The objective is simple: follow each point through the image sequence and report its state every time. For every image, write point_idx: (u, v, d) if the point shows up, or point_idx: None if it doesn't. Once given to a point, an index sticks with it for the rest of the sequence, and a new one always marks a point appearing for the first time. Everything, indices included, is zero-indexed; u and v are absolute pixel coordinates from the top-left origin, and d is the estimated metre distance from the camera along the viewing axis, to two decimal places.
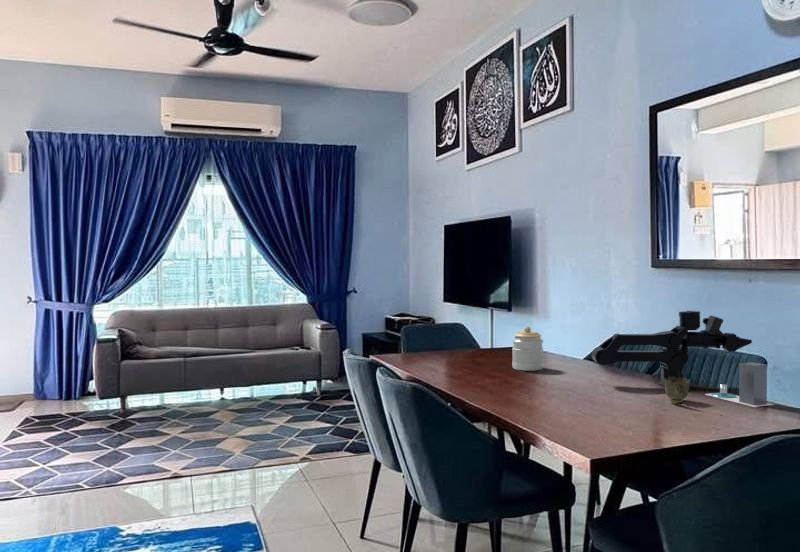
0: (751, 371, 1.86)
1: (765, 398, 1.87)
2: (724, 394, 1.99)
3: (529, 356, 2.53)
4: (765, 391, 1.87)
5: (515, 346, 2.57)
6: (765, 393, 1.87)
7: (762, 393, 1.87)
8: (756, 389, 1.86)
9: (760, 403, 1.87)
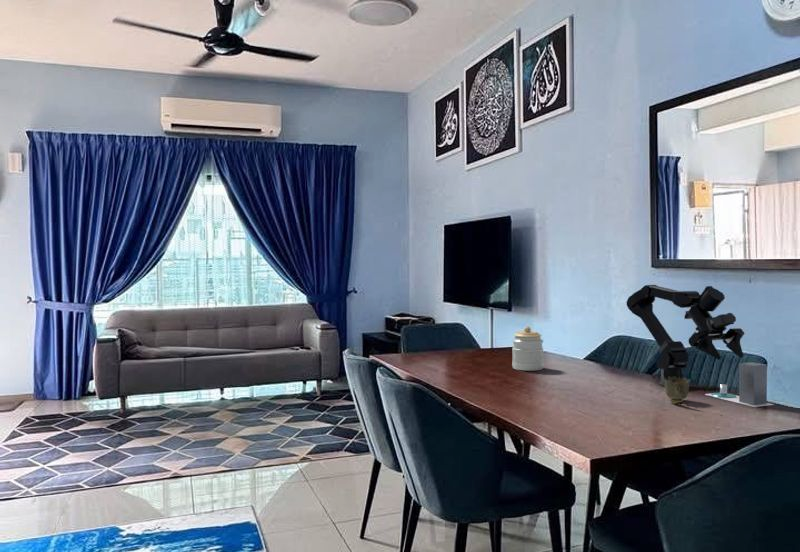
0: (751, 371, 1.86)
1: (765, 398, 1.87)
2: (724, 394, 1.99)
3: (529, 356, 2.53)
4: (765, 391, 1.87)
5: (515, 346, 2.57)
6: (765, 393, 1.87)
7: (762, 393, 1.87)
8: (756, 389, 1.86)
9: (760, 403, 1.87)
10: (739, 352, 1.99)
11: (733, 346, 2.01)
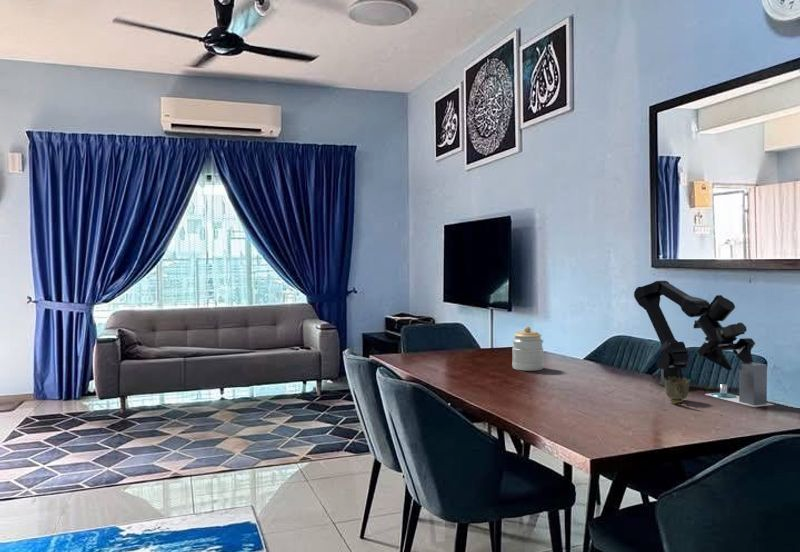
0: (751, 371, 1.86)
1: (765, 398, 1.87)
2: (724, 394, 1.99)
3: (529, 356, 2.53)
4: (765, 391, 1.87)
5: (515, 346, 2.57)
6: (765, 393, 1.87)
7: (762, 393, 1.87)
8: (756, 389, 1.86)
9: (760, 403, 1.87)
10: None
11: (744, 356, 1.98)
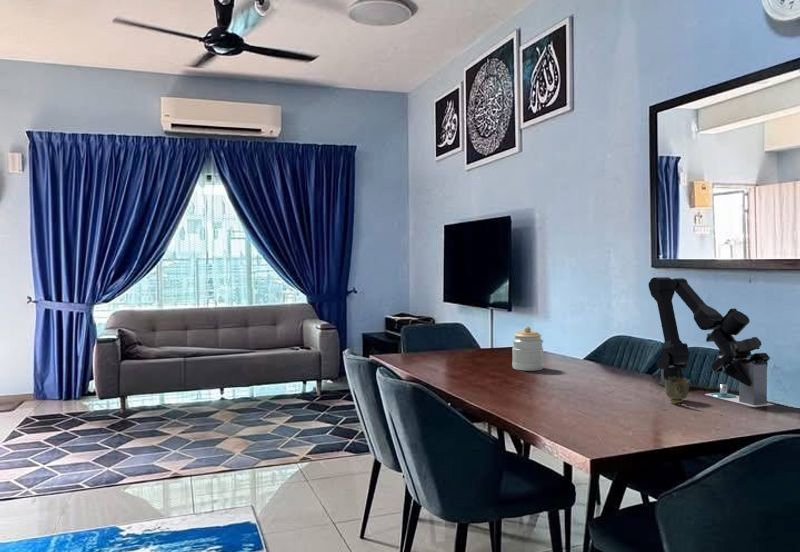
0: (751, 371, 1.86)
1: (765, 398, 1.87)
2: (724, 394, 1.99)
3: (529, 356, 2.53)
4: (765, 391, 1.87)
5: (515, 346, 2.57)
6: (765, 393, 1.87)
7: (762, 393, 1.87)
8: (756, 388, 1.86)
9: (760, 403, 1.87)
10: None
11: None
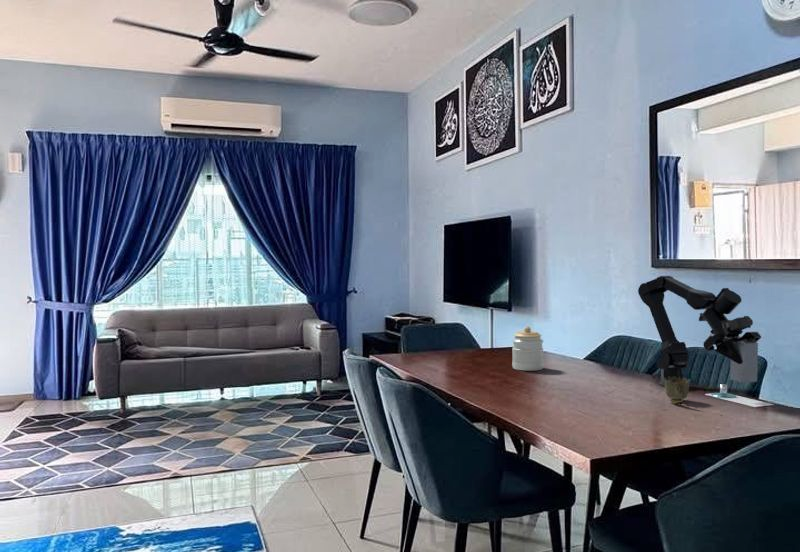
0: (742, 349, 1.89)
1: (756, 376, 1.90)
2: (724, 394, 1.99)
3: (529, 356, 2.53)
4: (755, 368, 1.90)
5: (515, 346, 2.57)
6: (756, 371, 1.90)
7: (753, 371, 1.90)
8: (747, 366, 1.89)
9: (750, 380, 1.90)
10: None
11: None
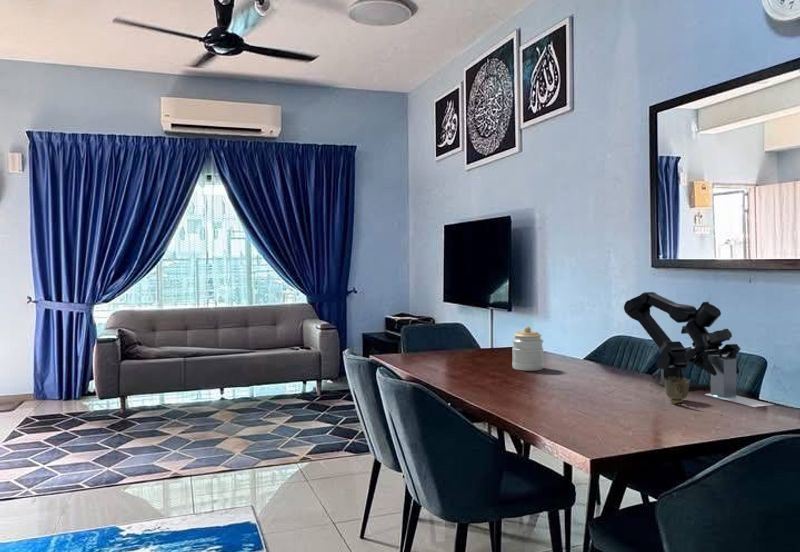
0: (721, 365, 1.97)
1: (735, 391, 1.98)
2: None
3: (529, 356, 2.53)
4: (734, 383, 1.98)
5: (515, 346, 2.57)
6: (735, 386, 1.98)
7: (732, 386, 1.97)
8: (726, 381, 1.97)
9: (730, 395, 1.97)
10: None
11: None
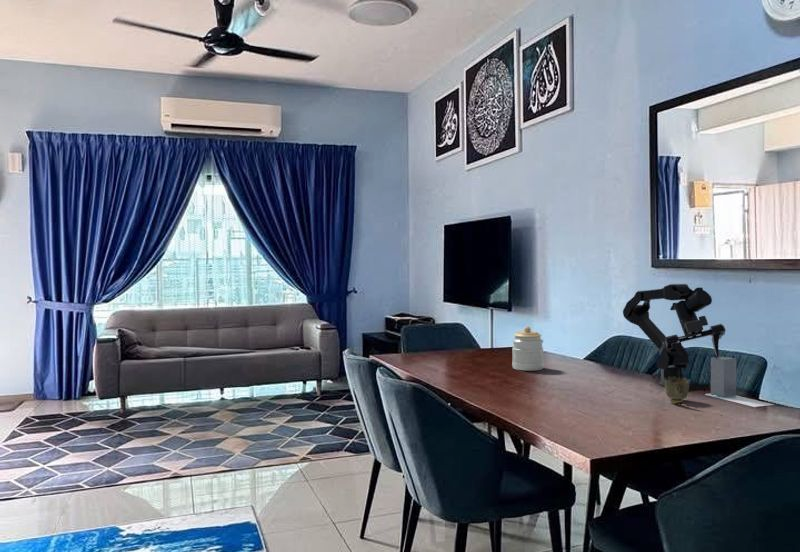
0: (721, 365, 1.97)
1: (735, 391, 1.98)
2: None
3: (529, 356, 2.53)
4: (734, 383, 1.98)
5: (515, 346, 2.57)
6: (735, 386, 1.98)
7: (732, 386, 1.97)
8: (726, 381, 1.97)
9: (730, 395, 1.97)
10: (716, 351, 2.06)
11: (713, 343, 2.08)
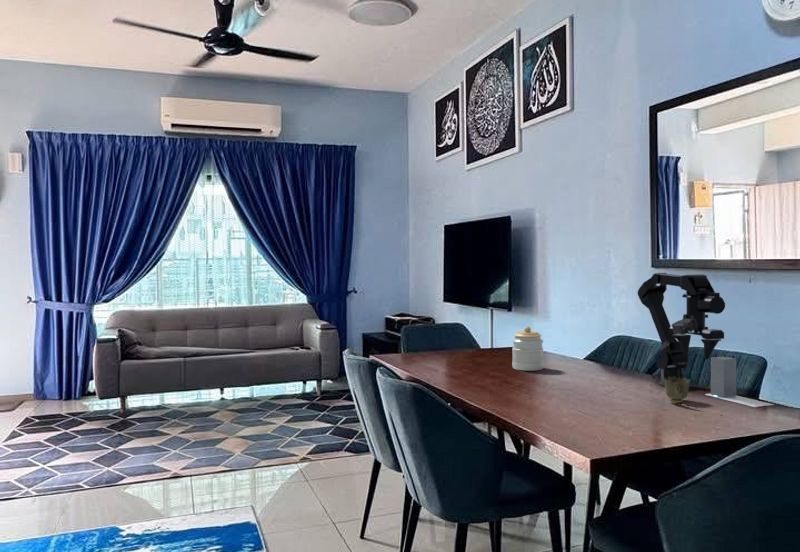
0: (721, 365, 1.97)
1: (735, 391, 1.98)
2: None
3: (529, 356, 2.53)
4: (734, 383, 1.98)
5: (515, 346, 2.57)
6: (735, 386, 1.98)
7: (732, 386, 1.97)
8: (726, 381, 1.97)
9: (730, 395, 1.97)
10: None
11: None
